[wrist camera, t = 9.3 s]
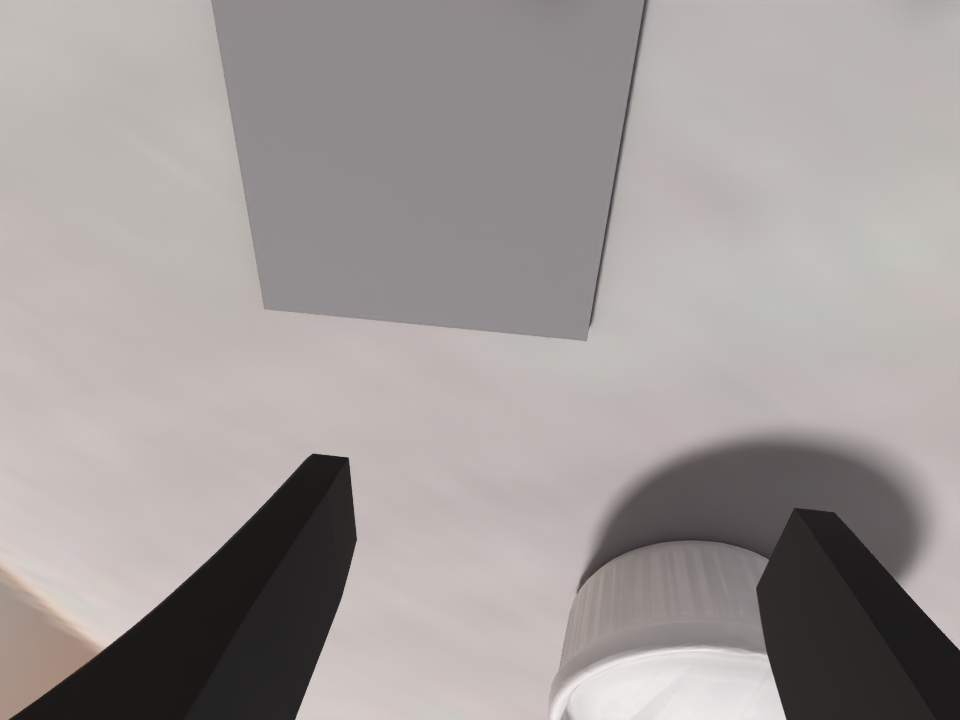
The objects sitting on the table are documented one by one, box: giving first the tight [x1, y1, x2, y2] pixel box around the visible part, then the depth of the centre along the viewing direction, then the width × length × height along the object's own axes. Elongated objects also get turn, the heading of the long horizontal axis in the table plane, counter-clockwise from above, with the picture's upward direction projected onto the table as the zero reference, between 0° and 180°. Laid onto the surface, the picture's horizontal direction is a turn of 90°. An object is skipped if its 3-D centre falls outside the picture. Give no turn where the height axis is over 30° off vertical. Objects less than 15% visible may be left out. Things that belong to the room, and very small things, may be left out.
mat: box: [211, 0, 644, 341], centre depth 17 cm, size 10×10×1 cm
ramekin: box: [548, 540, 786, 720], centre depth 24 cm, size 11×11×5 cm
